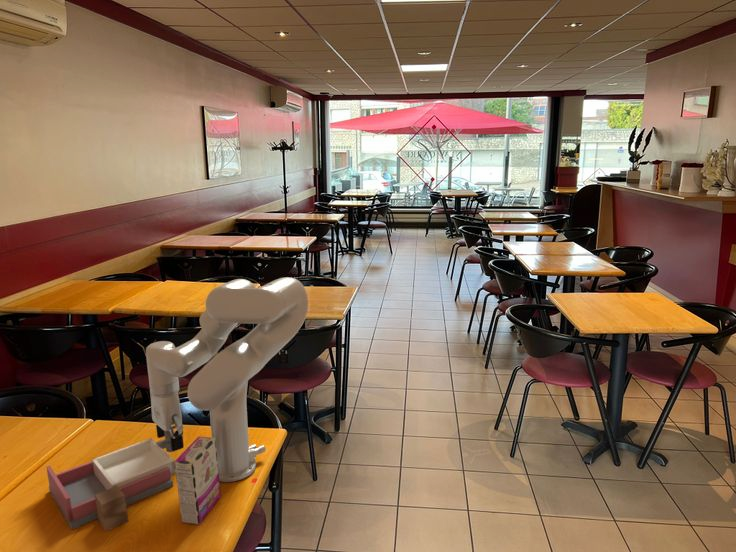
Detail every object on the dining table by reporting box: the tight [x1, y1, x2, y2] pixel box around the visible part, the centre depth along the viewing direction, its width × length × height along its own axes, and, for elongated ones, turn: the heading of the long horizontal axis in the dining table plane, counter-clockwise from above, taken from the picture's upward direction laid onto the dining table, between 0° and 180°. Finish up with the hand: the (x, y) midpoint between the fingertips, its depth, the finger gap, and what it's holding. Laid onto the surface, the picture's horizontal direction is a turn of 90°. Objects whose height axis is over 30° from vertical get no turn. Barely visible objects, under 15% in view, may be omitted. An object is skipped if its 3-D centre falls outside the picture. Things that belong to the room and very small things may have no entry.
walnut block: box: [95, 486, 129, 532], centre depth 125 cm, size 5×5×7 cm
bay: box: [46, 460, 174, 530], centre depth 137 cm, size 24×20×8 cm
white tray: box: [91, 429, 176, 490], centre depth 143 cm, size 20×16×7 cm
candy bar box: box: [174, 436, 222, 526], centre depth 128 cm, size 11×5×16 cm, turn 168°
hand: (170, 442), depth 151 cm, fingers open, 9 cm apart
